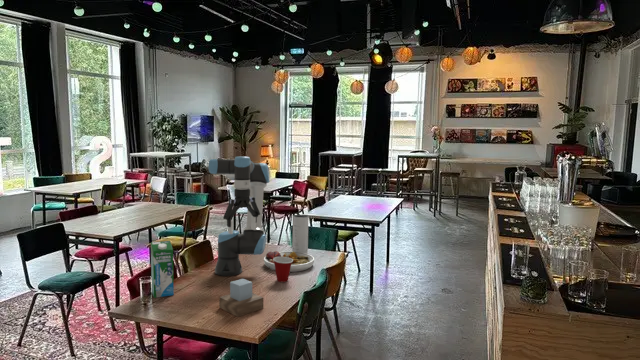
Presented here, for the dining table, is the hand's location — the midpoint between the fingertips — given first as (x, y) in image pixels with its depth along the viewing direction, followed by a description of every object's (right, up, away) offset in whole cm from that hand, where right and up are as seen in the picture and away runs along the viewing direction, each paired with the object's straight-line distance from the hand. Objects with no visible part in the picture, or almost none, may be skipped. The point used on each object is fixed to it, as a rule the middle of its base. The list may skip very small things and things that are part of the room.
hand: (242, 231), depth 217 cm
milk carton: (-39, -30, -1) cm, 49 cm away
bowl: (+19, -27, +50) cm, 60 cm away
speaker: (+25, -24, +77) cm, 84 cm away
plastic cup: (+18, -29, +22) cm, 41 cm away
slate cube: (+3, -28, -17) cm, 33 cm away
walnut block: (+3, -33, -17) cm, 37 cm away
